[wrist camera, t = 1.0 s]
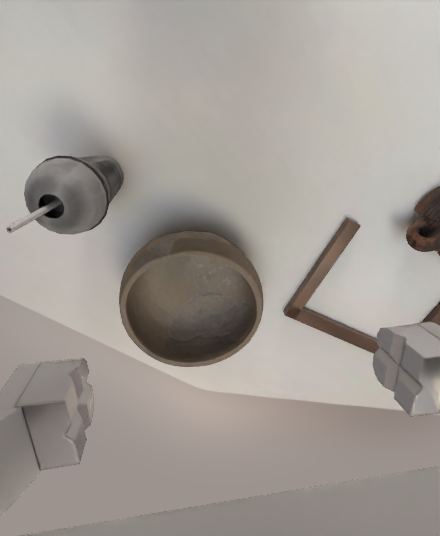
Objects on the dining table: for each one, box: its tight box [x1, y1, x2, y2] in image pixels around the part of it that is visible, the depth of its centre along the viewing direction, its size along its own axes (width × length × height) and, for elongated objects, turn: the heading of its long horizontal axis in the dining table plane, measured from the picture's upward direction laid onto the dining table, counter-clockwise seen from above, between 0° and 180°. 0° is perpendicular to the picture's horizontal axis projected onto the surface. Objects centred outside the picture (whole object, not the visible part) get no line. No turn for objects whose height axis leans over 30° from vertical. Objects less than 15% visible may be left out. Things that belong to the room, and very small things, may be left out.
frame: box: [284, 218, 440, 354], centre depth 49 cm, size 16×23×1 cm
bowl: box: [119, 231, 263, 367], centre depth 43 cm, size 17×18×10 cm
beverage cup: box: [6, 156, 124, 234], centre depth 33 cm, size 7×7×20 cm
